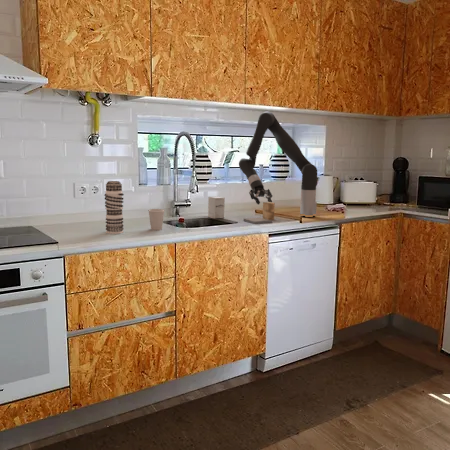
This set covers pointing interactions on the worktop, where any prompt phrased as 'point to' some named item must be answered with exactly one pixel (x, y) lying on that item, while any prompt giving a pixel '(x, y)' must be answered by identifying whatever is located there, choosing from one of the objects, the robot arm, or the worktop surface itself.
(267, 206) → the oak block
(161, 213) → the dixie cup
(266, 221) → the plate
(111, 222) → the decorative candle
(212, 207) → the supplement box
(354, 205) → the worktop surface
